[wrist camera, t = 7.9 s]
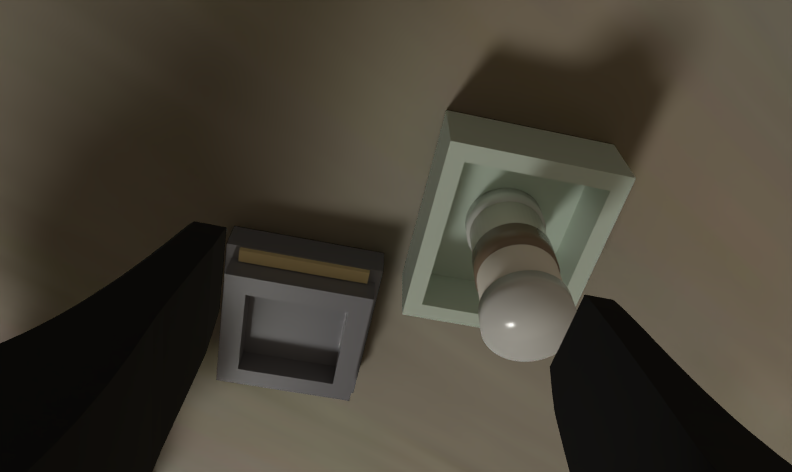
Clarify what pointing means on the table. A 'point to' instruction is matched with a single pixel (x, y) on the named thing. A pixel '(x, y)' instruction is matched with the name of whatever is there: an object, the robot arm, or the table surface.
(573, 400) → the robot arm
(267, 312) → the grey square holder
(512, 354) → the cylinder
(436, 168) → the parts tray
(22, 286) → the table surface
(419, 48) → the table surface
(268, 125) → the table surface
